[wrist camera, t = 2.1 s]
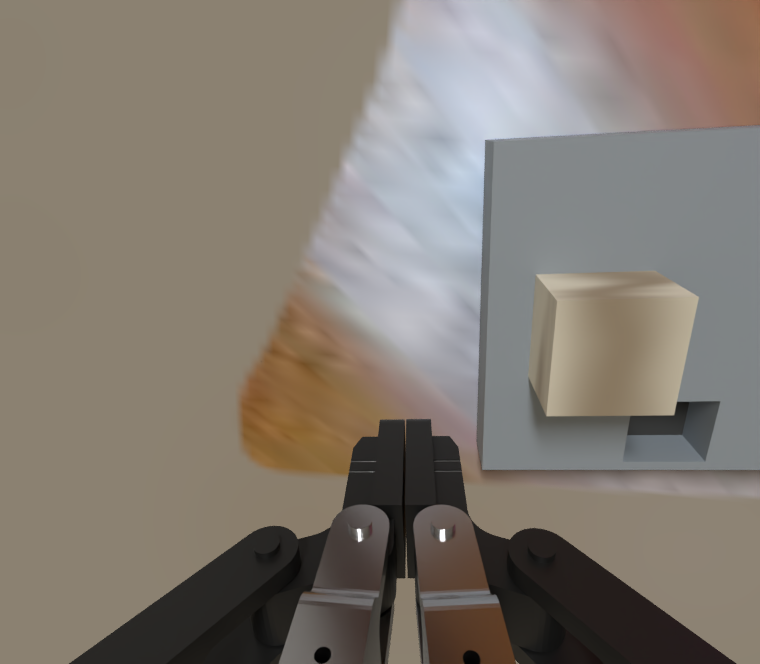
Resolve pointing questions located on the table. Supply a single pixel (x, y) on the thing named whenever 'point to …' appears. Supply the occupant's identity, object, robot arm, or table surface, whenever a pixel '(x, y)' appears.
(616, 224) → the board
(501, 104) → the table surface
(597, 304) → the birch block
